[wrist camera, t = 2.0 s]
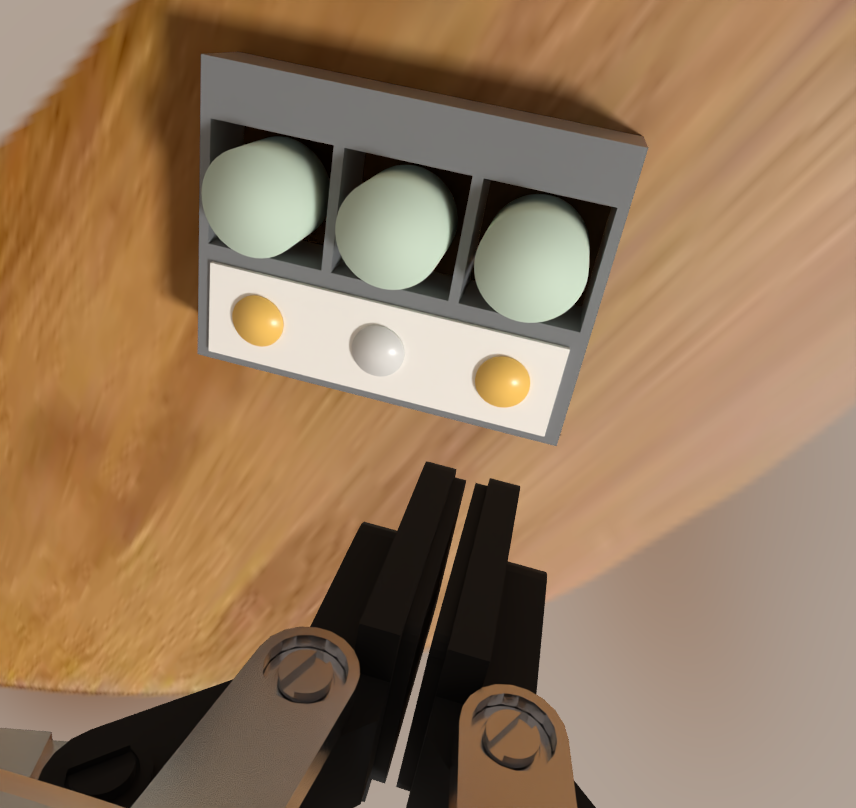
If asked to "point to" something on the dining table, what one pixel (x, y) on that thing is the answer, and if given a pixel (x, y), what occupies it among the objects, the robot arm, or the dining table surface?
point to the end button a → (265, 196)
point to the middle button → (396, 227)
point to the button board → (438, 293)
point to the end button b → (533, 259)
